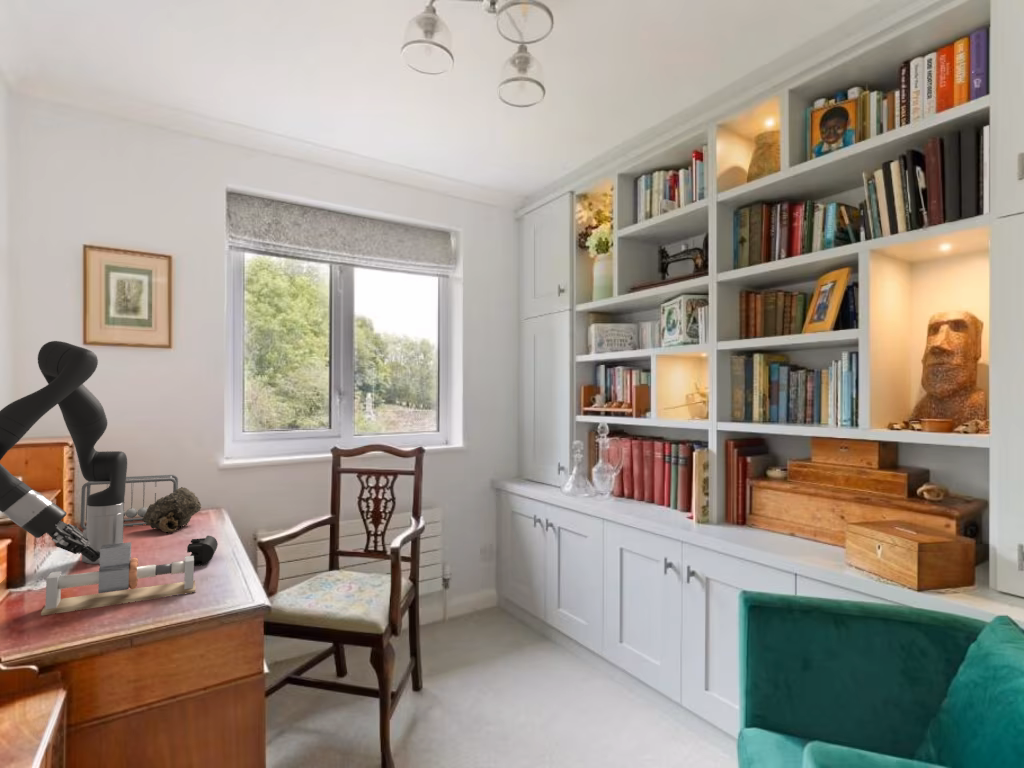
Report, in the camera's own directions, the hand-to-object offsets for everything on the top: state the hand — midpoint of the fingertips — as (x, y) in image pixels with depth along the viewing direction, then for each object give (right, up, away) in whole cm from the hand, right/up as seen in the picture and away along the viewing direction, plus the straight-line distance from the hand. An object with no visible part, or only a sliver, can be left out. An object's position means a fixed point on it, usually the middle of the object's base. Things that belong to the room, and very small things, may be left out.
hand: (98, 558), depth 135 cm
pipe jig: (+5, -11, +3) cm, 12 cm away
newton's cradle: (-46, -12, +77) cm, 91 cm away
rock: (-26, -12, +70) cm, 75 cm away
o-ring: (+6, -9, +4) cm, 11 cm away
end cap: (+7, -12, +33) cm, 36 cm away
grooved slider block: (+3, -8, +2) cm, 9 cm away
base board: (+5, -11, +3) cm, 12 cm away
